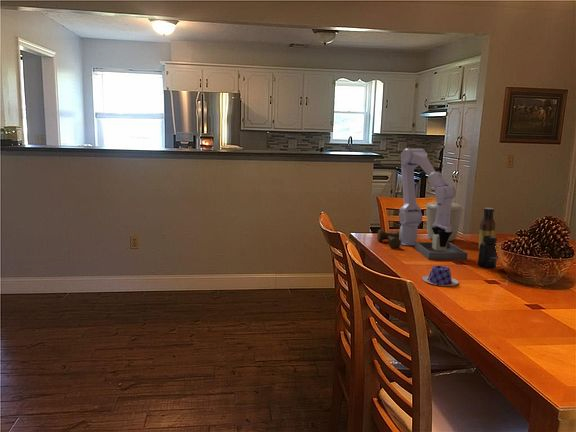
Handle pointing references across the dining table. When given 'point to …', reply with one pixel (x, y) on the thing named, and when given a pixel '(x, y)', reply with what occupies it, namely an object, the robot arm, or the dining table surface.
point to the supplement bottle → (488, 253)
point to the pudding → (440, 276)
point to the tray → (440, 252)
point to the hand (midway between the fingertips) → (440, 245)
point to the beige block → (437, 243)
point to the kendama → (389, 238)
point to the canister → (454, 218)
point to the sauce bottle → (487, 225)
